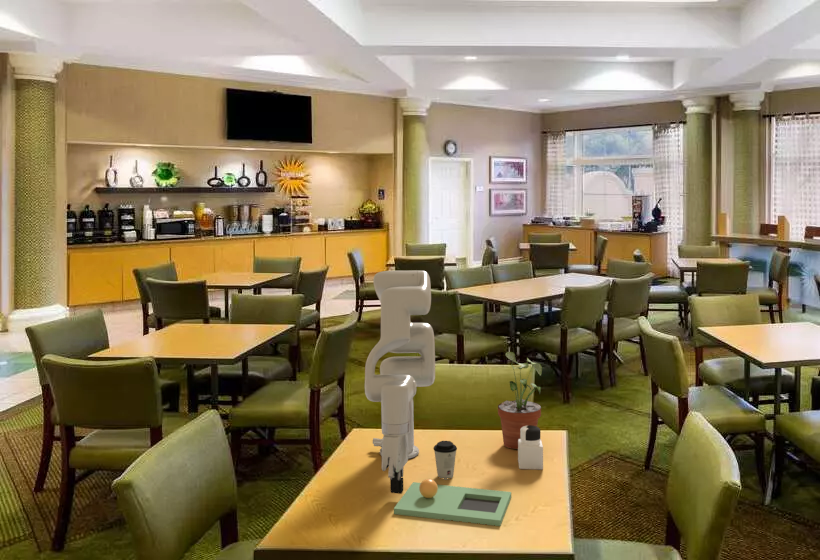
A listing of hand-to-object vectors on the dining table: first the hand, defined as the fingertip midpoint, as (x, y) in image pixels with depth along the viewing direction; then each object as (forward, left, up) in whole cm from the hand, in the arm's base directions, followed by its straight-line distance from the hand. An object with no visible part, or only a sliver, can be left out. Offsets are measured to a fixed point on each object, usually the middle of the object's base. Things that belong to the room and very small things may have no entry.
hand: (396, 492), depth 197 cm
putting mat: (+16, 0, -2) cm, 16 cm away
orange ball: (+9, 0, +2) cm, 9 cm away
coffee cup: (+9, +19, -2) cm, 21 cm away
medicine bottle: (+32, +34, -2) cm, 47 cm away
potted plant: (+27, +51, -2) cm, 58 cm away
